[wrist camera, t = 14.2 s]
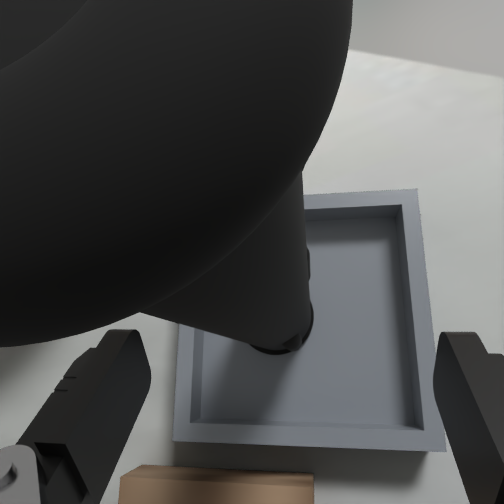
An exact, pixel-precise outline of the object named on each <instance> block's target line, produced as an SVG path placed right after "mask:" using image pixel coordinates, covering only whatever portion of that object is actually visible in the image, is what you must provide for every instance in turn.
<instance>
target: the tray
mask: <svg viewBox="0 0 504 504" xmlns="http://www.w3.org/2000/svg"><path fill="white" fill-rule="evenodd" d="M303 196H304V212H305V228H306V244H307V248H308V249H309V252H310V273H311V277H310V280H309V292H310V301H311V303H312V306H313V311H314V322H313V327H312V330H311V333H310V335H309V337H308V338H307V340H306V341H305V342H304V343H303V344H302V345H301V347H300V349H299V350H297V351H292V352H290V353H287V354H283V355H269V354H265V353H262V352H259V351H257V350H256V349H254V348H253V347H251V346H250V345H249V344H248V343H244V342H241V341H237V340H234V339H230V338H227V337H224V336H220V335H217V334H213V333H210V332H206V331H203V330H199V329H196V328H192V327H189V326H186V325H182V324H179V336H178V353H177V370H176V387H175V404H174V422H173V439H172V441H184V442H208V443H233V444H258V445H283V446H308V447H332V448H357V449H382V450H407V451H432V452H447V451H446V442H445V433H444V425H443V422H442V419H441V416H440V413H439V410H438V407H437V404H436V401H435V397H434V391H433V372H434V366H435V360H436V352H435V343H434V335H433V326H432V317H431V308H430V299H429V290H428V281H427V272H426V263H425V254H424V245H423V236H422V228H421V219H420V210H419V201H418V192H417V189H402V190H384V191H366V192H349V193H331V194H313V195H303Z"/></svg>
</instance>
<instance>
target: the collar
mask: <svg viewBox="0 0 504 504" xmlns="http://www.w3.org/2000/svg"><path fill="white" fill-rule="evenodd" d="M118 504H314V477H313V473H295V472H275V471H256V470H236V469H216V468H196V467H176V466H157V465H141V466H139V467H137V468H136V469H134V470H132V471H130V472H128V473H126V474H125V475H123V476H121V478H120V489H119V500H118Z"/></svg>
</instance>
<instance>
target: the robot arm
mask: <svg viewBox="0 0 504 504" xmlns="http://www.w3.org/2000/svg"><path fill="white" fill-rule="evenodd" d="M63 377H64V378H63V380H61V381H60V382H59V383H58V385H57V386H56V388H55V389H54V390H55V391H54V393H51V395H50V396H49V398H48V399H47V401H46V402H45V403H44V405H43V406H42V408H41V409H40V411H39V412H38V413H37V415H36V416H35V418H34V419H33V421H32V422H31V423H30V425H29V426H28V428H27V429H26V431H25V432H24V433H23V435H22V436H21V438H20V439H19V441H18V442H17V443H16V444H15V445H12V446H8V447H5V448H2V449H0V504H99V503H100V501H101V499H102V497H103V494H104V492H105V490H106V488H107V485H108V483H109V481H110V478H111V476H112V474H113V472H114V469H115V467H116V465H117V462H118V460H119V458H120V456H121V453H122V451H123V449H124V447H125V444H126V442H127V440H128V437H129V435H130V433H131V431H132V428H133V426H134V424H135V421H136V419H137V417H138V415H139V412H140V410H141V408H142V406H143V403H144V401H145V399H146V396H147V394H148V392H149V389H150V384H151V370H150V366H149V362H148V359H147V356H146V352H145V349H144V346H143V342H142V339H141V336H140V333H139V332H138V331H137V330H122V329H111V330H108V331H107V332H106V334H105V335H104V337H103V338H102V340H101V341H100V343H99V344H98V346H97V347H96V348H90V349H88V350H87V351H86V352H85V353H83V354H82V355H81V356H80V357H79V358H77V359H76V360H75V361H74V362H73V363H72V365H71V366H70V368H69V369H68V371H67V372H66V373H65V375H64V376H63ZM433 391H434V397H435V401H436V404H437V407H438V410H439V413H440V416H441V419H442V422H443V425H444V428H445V431H446V434H447V437H448V440H449V443H450V446H451V449H452V452H453V455H454V458H455V461H456V464H457V467H458V470H459V473H460V476H461V479H462V482H463V485H464V488H465V491H466V494H467V497H468V499H469V502H470V504H504V356H503V355H502V354H488V353H487V351H486V349H485V347H484V345H483V343H482V342H481V340H480V338H479V336H478V335H477V334H476V333H475V332H441V334H440V336H439V341H438V347H437V354H436V360H435V366H434V372H433Z"/></svg>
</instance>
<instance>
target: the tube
mask: <svg viewBox="0 0 504 504" xmlns="http://www.w3.org/2000/svg"><path fill="white" fill-rule="evenodd" d="M352 6H353V0H0V347H13V346H21V345H28V344H35V343H41V342H48V341H52V340H57V339H61V338H65V337H69V336H74V335H78V334H82V333H85V332H88V331H91V330H94V329H97V328H100V327H104V326H107V325H109V324H112V323H114V322H117V321H119V320H122V319H124V318H127V317H129V316H131V315H134V314H136V313H139V312H141V313H144V314H148V315H151V316H154V317H158V318H161V319H165V320H168V321H172V322H175V323H179V324H182V325H186V326H189V327H192V328H196V329H199V330H203V331H206V332H210V333H213V334H217V335H220V336H224V337H227V338H230V339H234V340H237V341H241V342H244V343H248V344H249V345H250V346H251V347H253V348H254V349H256V350H257V351H259V352H262V353H265V354H269V355H283V354H287V353H290V352H292V351H297V350H299V349H300V347H301V345H302V344H303V343H304V342H305V341H306V340H307V338H308V337H309V335H310V333H311V330H312V327H313V322H314V311H313V306H312V303H311V301H310V292H309V280H310V277H311V273H310V252H309V249H308V248H307V244H306V228H305V212H304V196H303V181H302V171H303V169H304V166H305V164H306V162H307V160H308V158H309V156H310V155H311V153H312V151H313V149H314V147H315V145H316V143H317V142H318V140H319V138H320V135H321V133H322V131H323V128H324V126H325V124H326V122H327V119H328V117H329V115H330V112H331V110H332V107H333V104H334V101H335V98H336V95H337V92H338V89H339V86H340V82H341V79H342V74H343V70H344V66H345V62H346V58H347V53H348V46H349V39H350V33H351V26H352Z"/></svg>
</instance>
